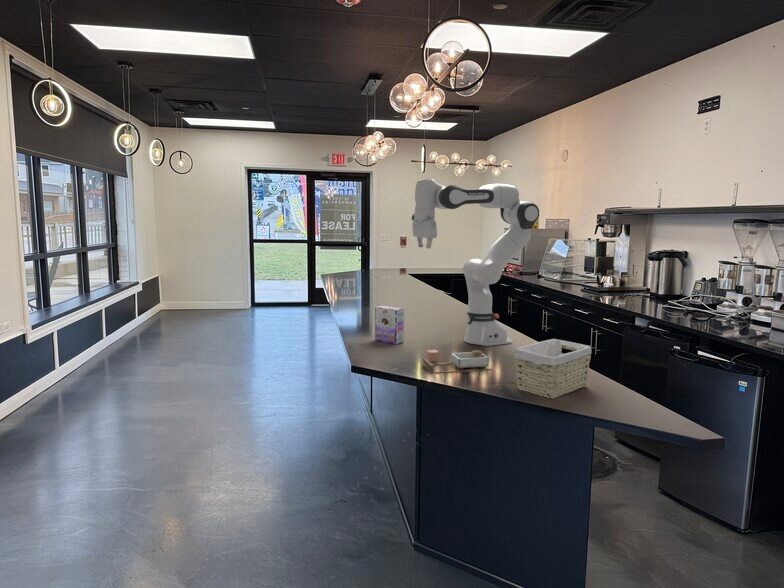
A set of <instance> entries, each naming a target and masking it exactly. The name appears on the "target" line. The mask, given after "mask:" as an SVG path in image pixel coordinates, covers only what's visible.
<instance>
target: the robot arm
mask: <svg viewBox="0 0 784 588" xmlns="http://www.w3.org/2000/svg"><path fill="white" fill-rule="evenodd" d="M414 202H415V206H414V213H413V214H412V215H411V221H412V234H413V237H414V238H416V241H417V245H418V248H423V247H424V243H423V238H424V239H426V244H425V248H426V249H431V248H432V243H433V239H437V235H438V227H437V225H438V224H437V221H436V220H435V218H436V210H435V209H436V208H437V209H438V210H455V209H459V208H460V207H462V206H464V205H474V204H476V205H479V206H480V207H481V208H485V209H500V218H501V219H502V220H503V222H505V223H507V224H509V228H507V231H505V232H504V233H502V235H501V236H500V237H499V238H498V239H497V240H496V241H494V243H493V244H492V245H491V246H490V247H489V251H488V252H487V253H486V255H485V257H483V258H482V259H481V258H471V259H469V260H467V261H466V262H465V263H464V264H463V266H462V273H463V275H464V278H465V282H466V283H465V284H466V288H467V294H468V305H467V306H468V307H467V308H468V309H467V312H466V324H467V325H466V331H465V335H464V339H463V341H464V342H466V343H467V344H472V345H480V346H483V347H484V346H485V347H487V346H490V347H491V346H496V345H505V344H506V345H507V344H512V343H513V340H512V339H511V338H510V337H508V332H507V329H506V328H505V327H504V326H503V325H502V324H500V323H499V322H498V321H497V320H496V319H499V318H500V315H499V314H498V313H494V312H493V309H492V308H493V294H492V292H491V290H490V285H493V284H496V283H498V281H499V280H501V277H502V272H503V270H504V269H505V267H506V266H507V264H509V262H510V261H511V260H512V259H513V258H514V257H515V256H516V255H517V254H518V253H519V252H520V251H521V250H522V249H524V248H525V246H526V245H527V243H528V242H529V241H530V239H531V237H532V233H531V229H532V228H534V226H535V223H537V221H538V220H539V219H538V218H539V217H540V208H539V206H538V205H536V204H535V203H534V202H531V201H525V200H524V201H523V200H521V199H520V191H519V190H518V188H517V187H516V185H515V186H514V185H511V184H504V183H491V184H484V185H481V186H480V187H479V188H469V189H468V188H467V189H466V188H463V187H461V186H459V185H457V184H450V185H447V186H444V185H442V184H439V183H438V182H436V181H435V180H434V179H433V178H428V179H427V178H425V179H420V180H419V181H417V182H416V184H415V189H414Z"/></svg>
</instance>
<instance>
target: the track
mask: <svg viewBox="0 0 784 588" xmlns="http://www.w3.org/2000/svg"><path fill="white" fill-rule="evenodd" d="M441 365H442V366H447V365H454V364H453V363H452V362H439V363H436V362H435V363H432V362H429V361H428V360H427V359H426V358H423V359H422V366H423V367H424V368H425V369H426V371H428V372H429V373H430V374H449V373H453V374H454V373H467V372H468V373H469V372H470V373H471V372H482V371H485V372H486V371H492V369H491V368H485V369H482V368H478V369H477V368H476V369H463V370H461V369H460V370H459V369H458V370H445V371H444V370H441V371H434V370H435V369H434V368H435V367H434V366H441Z"/></svg>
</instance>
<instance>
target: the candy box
mask: <svg viewBox="0 0 784 588" xmlns="http://www.w3.org/2000/svg"><path fill="white" fill-rule="evenodd" d="M374 309H375V310H374V318H375V319H374V323H375V324H374V327H375V328H374V329H375V330H374V333H375V335H374V337H375V340H374V341H377V340H378V342H382V341H383V342H382V343H386V342H388V344H391V343H392V345H399V343H400V344H403V343H404V338H405V337H404V336H405V334H404V331H405V330H404V329H405V327H404V326H405V317H404V316H405V308H401V307H394V306H388V305H378V306H375V307H374Z"/></svg>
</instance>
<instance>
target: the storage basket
mask: <svg viewBox="0 0 784 588" xmlns="http://www.w3.org/2000/svg"><path fill="white" fill-rule="evenodd" d="M563 349H565V350H570V351H571V352H570V351H569V352H567V353H563V352H562V350H563ZM591 358H592V346H591V345H587V344H582V343H578V342H572V341H567V340H564V339H563V340H562V339H557V338H551V339H546V340H542V341H538V342H534V343H531V344H527V345H523V346H522V345H521V346H517V347H516V348H515V349H514V359H515V371H516V372H515V373H516V374H515V375H516V381H517V382H516V384H517V389H518V390H520V391H522V390H523V392H526V391H527V392H526V393H529V392H530V394H532V393H533V395H535V394H537V395H536V396H538V395H540V396H539V397H542V396H544V397H547V398H546V399H550V398H551V400H553V399H557V398H559V397H562V396H563V395H564V394H565V395H567V394H570V393H571V392H575V391H577V390H579V389H581V388H584V387H586V386H588V379H589V378H588V377H589V370H590V364H591V363H590V362H591ZM544 397H543V398H544ZM556 397H557V398H556Z"/></svg>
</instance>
